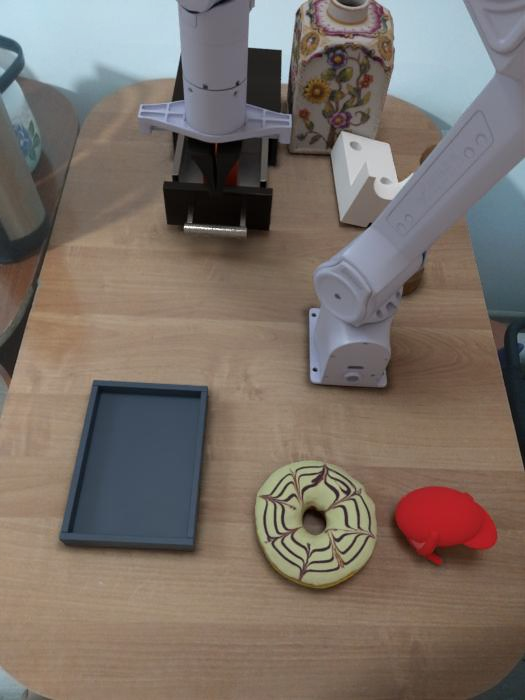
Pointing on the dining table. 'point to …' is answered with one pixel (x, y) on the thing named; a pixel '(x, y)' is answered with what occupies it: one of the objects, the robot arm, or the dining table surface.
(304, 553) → the decorated donut
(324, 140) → the decorative jar
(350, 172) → the bracket
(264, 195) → the drawer
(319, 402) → the dining table surface
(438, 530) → the cap
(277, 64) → the black drawer cabinet
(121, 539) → the tray
